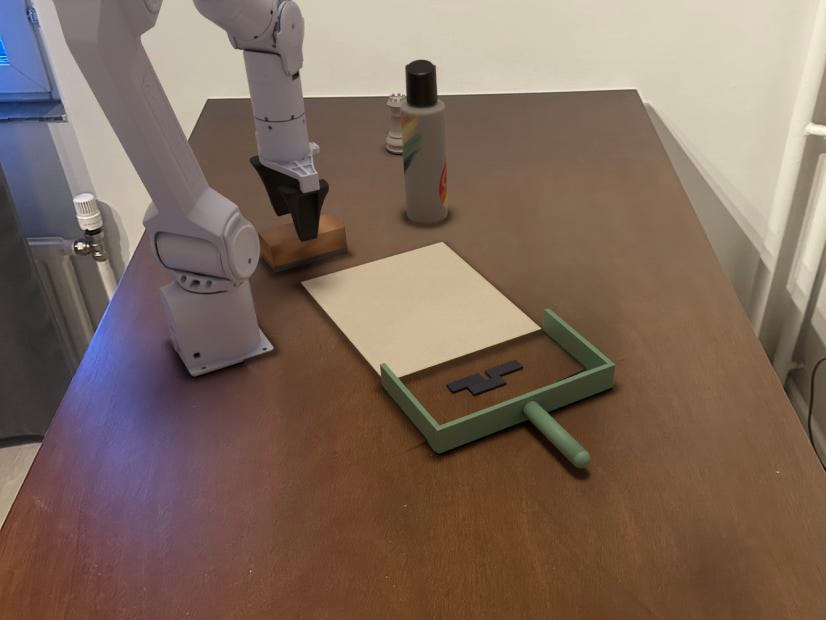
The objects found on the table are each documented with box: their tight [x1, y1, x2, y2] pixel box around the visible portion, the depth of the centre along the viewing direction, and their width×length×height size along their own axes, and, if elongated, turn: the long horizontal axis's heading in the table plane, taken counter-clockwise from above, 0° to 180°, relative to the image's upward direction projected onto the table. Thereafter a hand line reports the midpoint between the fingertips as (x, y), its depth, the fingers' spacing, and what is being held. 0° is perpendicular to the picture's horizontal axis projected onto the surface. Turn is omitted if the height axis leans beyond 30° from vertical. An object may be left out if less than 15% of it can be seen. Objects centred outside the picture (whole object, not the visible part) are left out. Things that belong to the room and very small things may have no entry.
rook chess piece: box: [385, 92, 407, 155], centre depth 136 cm, size 4×4×8 cm
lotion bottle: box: [400, 59, 449, 224], centre depth 116 cm, size 6×6×20 cm
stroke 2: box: [466, 375, 507, 397], centre depth 95 cm, size 4×2×1 cm, turn 121°
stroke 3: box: [484, 359, 524, 379], centre depth 97 cm, size 4×2×1 cm, turn 120°
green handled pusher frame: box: [380, 307, 616, 469], centre depth 91 cm, size 22×21×3 cm
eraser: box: [257, 212, 349, 273], centre depth 114 cm, size 10×4×4 cm, turn 121°
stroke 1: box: [445, 372, 486, 395], centre depth 95 cm, size 4×2×1 cm, turn 121°
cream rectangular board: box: [300, 241, 542, 379], centre depth 106 cm, size 20×24×1 cm
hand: (296, 226), depth 109 cm, fingers open, 7 cm apart
